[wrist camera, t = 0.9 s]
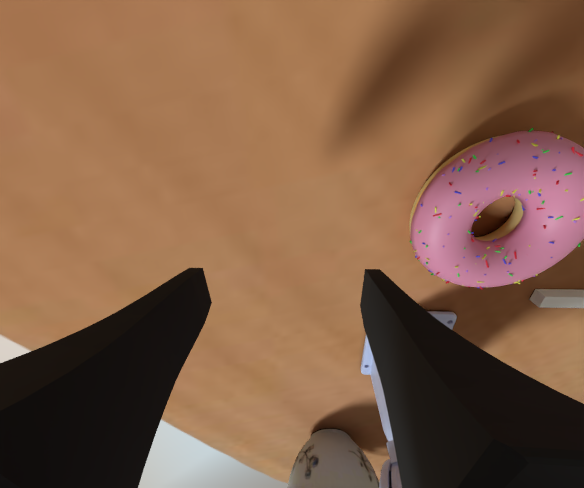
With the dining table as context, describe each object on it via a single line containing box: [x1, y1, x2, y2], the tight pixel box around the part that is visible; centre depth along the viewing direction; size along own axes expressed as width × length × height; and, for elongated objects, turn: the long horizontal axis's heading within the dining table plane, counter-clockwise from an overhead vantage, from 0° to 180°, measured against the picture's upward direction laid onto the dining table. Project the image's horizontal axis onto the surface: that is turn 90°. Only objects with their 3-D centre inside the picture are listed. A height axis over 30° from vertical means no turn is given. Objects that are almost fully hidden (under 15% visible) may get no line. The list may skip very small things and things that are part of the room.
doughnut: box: [409, 128, 584, 290], centre depth 16 cm, size 11×11×4 cm
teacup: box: [287, 429, 379, 488], centre depth 33 cm, size 15×12×8 cm
